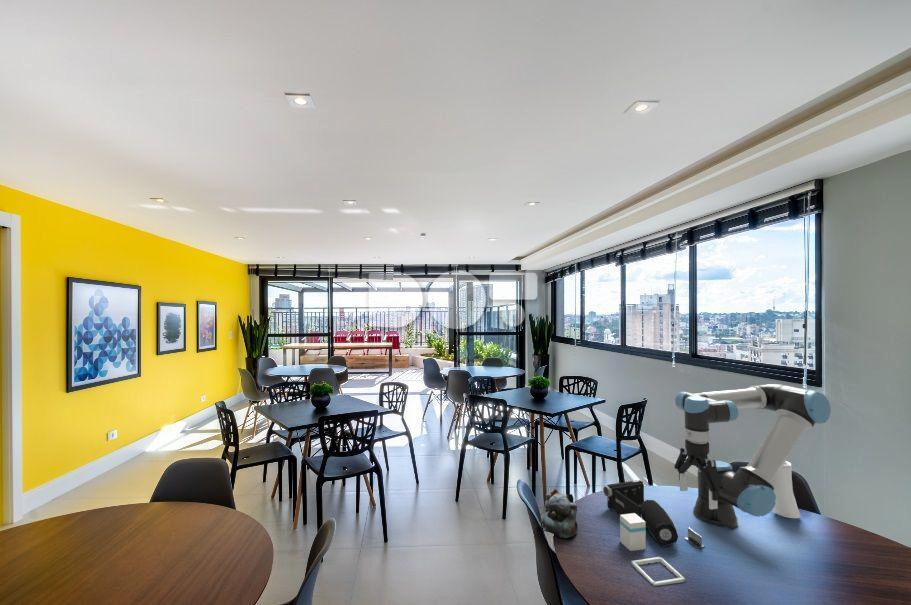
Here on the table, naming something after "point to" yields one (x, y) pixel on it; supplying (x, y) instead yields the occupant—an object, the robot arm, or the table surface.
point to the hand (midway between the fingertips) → (697, 499)
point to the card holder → (694, 539)
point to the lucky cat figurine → (560, 515)
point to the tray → (660, 559)
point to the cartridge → (632, 532)
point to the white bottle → (785, 493)
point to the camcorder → (625, 497)
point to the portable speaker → (658, 523)
